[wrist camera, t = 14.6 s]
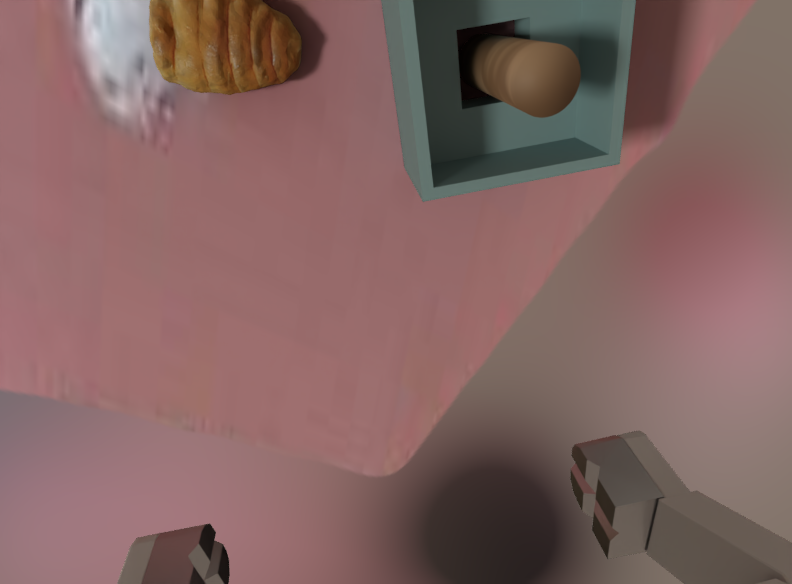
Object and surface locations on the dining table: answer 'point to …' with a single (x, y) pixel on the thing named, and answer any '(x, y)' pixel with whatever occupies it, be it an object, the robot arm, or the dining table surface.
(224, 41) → the pastry
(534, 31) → the box
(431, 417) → the dining table surface
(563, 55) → the peg
